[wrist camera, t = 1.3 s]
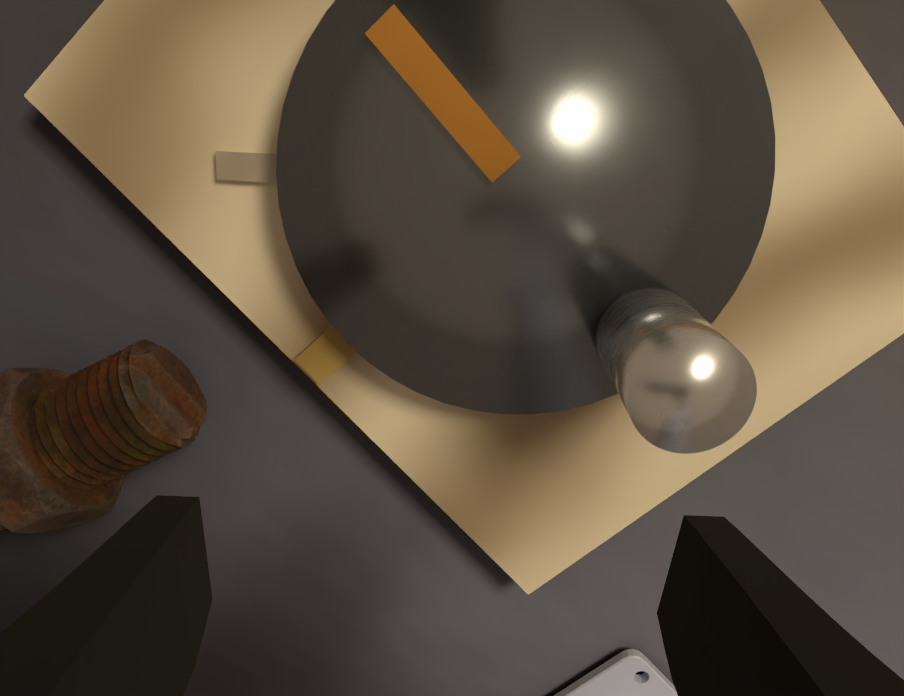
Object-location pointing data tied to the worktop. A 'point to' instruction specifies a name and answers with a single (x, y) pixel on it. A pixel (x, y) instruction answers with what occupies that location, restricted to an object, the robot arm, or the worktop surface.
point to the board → (450, 427)
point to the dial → (535, 201)
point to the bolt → (89, 433)
